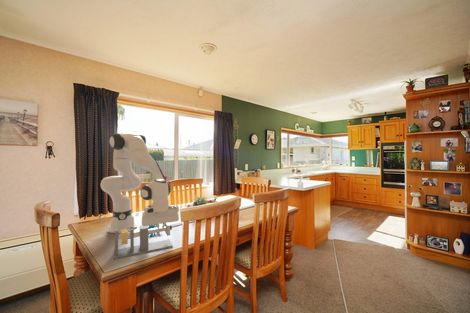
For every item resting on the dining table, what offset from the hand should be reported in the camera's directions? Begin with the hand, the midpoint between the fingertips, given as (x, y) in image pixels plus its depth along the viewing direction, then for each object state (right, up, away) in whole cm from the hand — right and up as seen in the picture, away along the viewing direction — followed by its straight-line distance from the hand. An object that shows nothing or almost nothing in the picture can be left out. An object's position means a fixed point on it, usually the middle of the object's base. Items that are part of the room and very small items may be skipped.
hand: (160, 230), depth 122 cm
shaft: (-8, -3, -1) cm, 9 cm away
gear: (-13, -10, +20) cm, 26 cm away
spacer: (-18, -4, -6) cm, 19 cm away
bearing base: (-9, -10, -1) cm, 14 cm away
